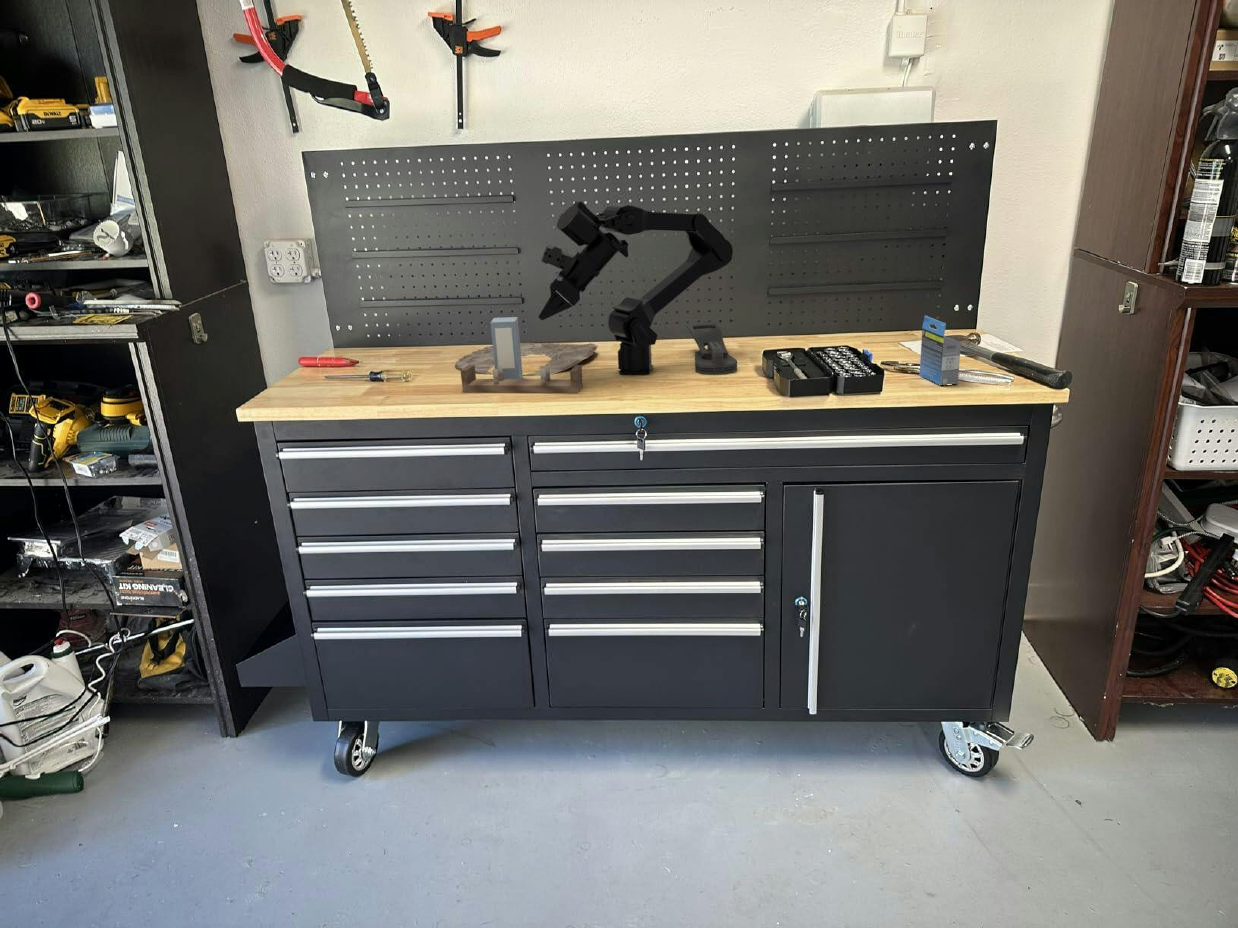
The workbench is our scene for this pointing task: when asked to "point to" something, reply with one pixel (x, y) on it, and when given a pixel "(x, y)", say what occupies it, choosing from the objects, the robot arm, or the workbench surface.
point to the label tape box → (939, 354)
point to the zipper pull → (711, 350)
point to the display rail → (521, 382)
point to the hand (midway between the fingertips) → (542, 314)
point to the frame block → (507, 346)
